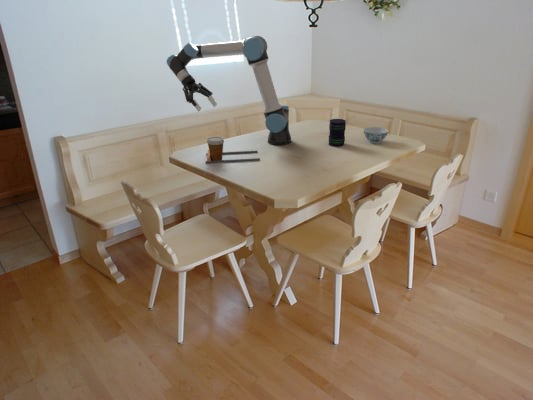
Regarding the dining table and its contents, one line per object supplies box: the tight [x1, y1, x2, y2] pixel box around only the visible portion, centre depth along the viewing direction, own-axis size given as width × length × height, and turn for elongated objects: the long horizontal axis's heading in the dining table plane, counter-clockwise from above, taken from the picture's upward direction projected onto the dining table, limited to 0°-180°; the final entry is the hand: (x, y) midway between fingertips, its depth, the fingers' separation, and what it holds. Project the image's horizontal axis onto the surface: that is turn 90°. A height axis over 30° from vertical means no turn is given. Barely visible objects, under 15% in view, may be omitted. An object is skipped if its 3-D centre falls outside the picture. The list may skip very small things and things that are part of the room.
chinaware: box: [363, 126, 389, 145], centre depth 246 cm, size 15×15×8 cm
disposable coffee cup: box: [206, 136, 225, 161], centre depth 219 cm, size 10×10×12 cm
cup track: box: [205, 149, 261, 164], centre depth 224 cm, size 30×15×3 cm, turn 96°
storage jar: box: [328, 118, 347, 148], centre depth 241 cm, size 10×10×15 cm
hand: (208, 107), depth 227 cm, fingers open, 13 cm apart
